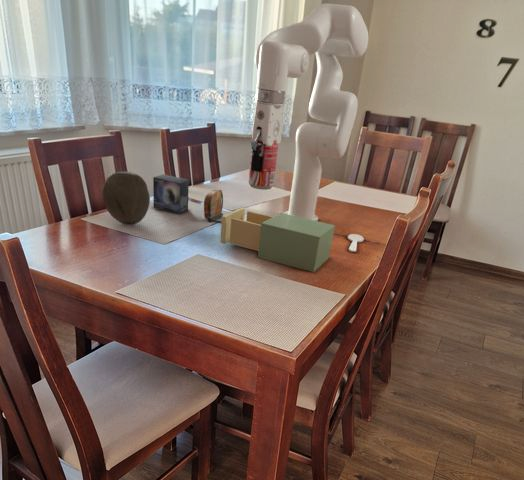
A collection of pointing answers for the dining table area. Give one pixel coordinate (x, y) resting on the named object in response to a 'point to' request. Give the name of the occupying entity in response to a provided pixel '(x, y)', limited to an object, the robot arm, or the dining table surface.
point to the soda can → (265, 168)
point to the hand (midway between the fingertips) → (262, 168)
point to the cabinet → (295, 241)
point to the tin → (213, 203)
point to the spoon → (354, 241)
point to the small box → (170, 193)
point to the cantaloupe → (126, 197)
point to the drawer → (240, 228)
